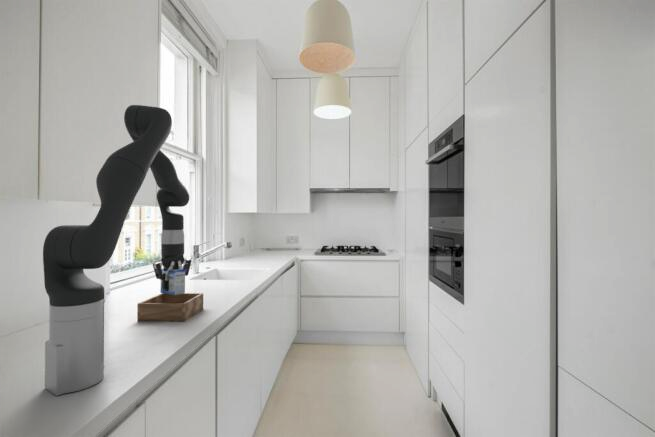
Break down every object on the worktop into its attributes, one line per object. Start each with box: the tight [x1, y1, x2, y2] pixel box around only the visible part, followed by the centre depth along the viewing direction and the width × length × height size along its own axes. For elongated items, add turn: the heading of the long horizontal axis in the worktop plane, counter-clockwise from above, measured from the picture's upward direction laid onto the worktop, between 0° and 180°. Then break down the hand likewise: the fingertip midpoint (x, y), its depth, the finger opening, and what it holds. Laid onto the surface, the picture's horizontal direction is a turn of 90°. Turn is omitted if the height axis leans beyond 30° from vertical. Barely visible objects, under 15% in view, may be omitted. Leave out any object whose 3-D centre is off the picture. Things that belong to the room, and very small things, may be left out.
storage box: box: [137, 292, 204, 323], centre depth 118 cm, size 16×16×6 cm
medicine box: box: [160, 268, 186, 295], centre depth 118 cm, size 8×4×9 cm, turn 62°
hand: (172, 289), depth 118 cm, fingers closed on medicine box, 4 cm apart
